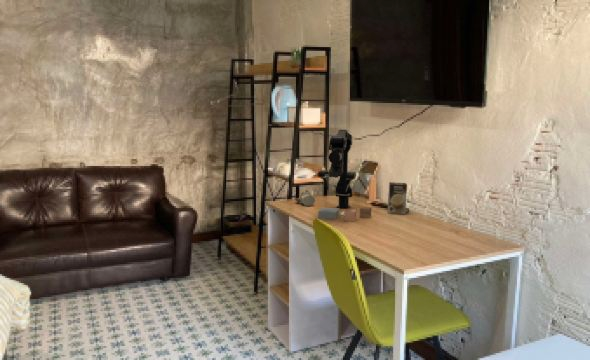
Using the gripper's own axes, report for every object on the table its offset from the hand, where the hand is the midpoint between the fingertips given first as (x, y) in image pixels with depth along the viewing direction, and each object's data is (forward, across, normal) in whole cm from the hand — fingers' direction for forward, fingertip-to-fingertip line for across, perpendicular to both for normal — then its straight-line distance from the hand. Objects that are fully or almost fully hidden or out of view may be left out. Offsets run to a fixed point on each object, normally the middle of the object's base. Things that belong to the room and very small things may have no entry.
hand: (336, 191), depth 258 cm
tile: (+14, +4, +10) cm, 17 cm away
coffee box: (+14, +27, +23) cm, 39 cm away
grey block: (+14, -4, +2) cm, 15 cm away
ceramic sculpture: (+15, -25, +26) cm, 39 cm away
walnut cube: (+14, +14, +8) cm, 21 cm away
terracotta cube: (+14, +8, -1) cm, 16 cm away
